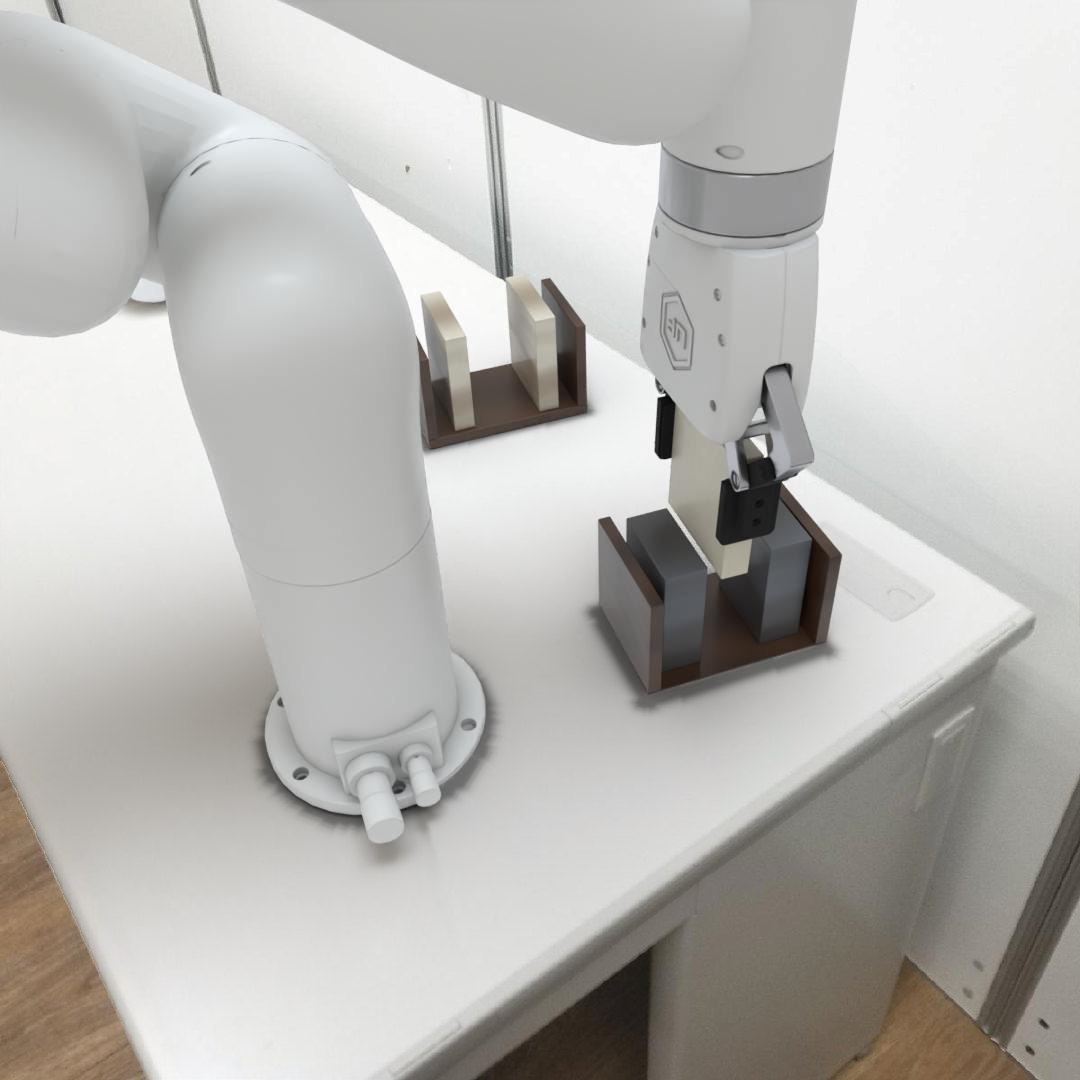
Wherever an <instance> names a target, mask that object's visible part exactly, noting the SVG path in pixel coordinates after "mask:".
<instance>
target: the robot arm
mask: <svg viewBox="0 0 1080 1080" xmlns="http://www.w3.org/2000/svg"><path fill="white" fill-rule="evenodd" d="M277 1H278V2H281V3H283V4H285V5H288V6H289V7H292V8H294V9H296V10H298V11H301V12H303V13H306V14H308V15H310V16H312V17H314V18H316V19H318V20H320V21H323V22H324V23H327V24H329V25H330V26H333V27H335V28H337V29H339V30H340V31H342V32H344V33H346V34H348V35H350V36H352V37H354V38H356V39H358V40H360V41H362V42H364V43H366V44H367V45H370V46H372V47H374V48H376V49H377V50H380V51H382V52H385V53H386V54H388V55H390V56H392V57H394V58H396V59H398V60H400V61H403V62H404V63H406V64H409V65H410V66H413V67H415V68H417V69H419V70H421V71H423V72H425V73H428V74H429V75H432V76H434V77H436V78H439V79H441V80H442V81H445V82H447V83H449V84H451V85H453V86H456V87H458V88H461V89H463V90H465V91H468V92H470V93H472V94H474V95H477V96H480V97H482V98H484V99H487V100H489V101H492V102H494V103H497V104H500V105H502V106H505V107H508V108H510V109H512V110H515V111H517V112H520V113H522V114H525V115H527V116H529V117H533V118H535V119H538V120H540V121H542V122H545V123H547V124H550V125H552V126H555V127H558V128H561V129H563V130H564V131H565V130H566V131H568V132H571V133H573V134H575V135H579V136H581V137H584V138H588V139H591V140H593V141H596V142H599V143H604V144H609V145H613V146H614V145H616V146H617V145H618V146H630V147H631V146H632V147H638V146H639V147H640V146H647V145H655V144H660V156H659V158H660V159H659V175H658V176H659V177H658V195H657V204H656V208H655V213H654V216H653V217H654V218H653V222H652V227H651V232H650V237H649V238H650V239H649V244H648V246H649V247H648V253H647V259H646V269H645V278H644V286H643V287H644V288H643V299H642V310H641V322H640V323H641V324H640V339H639V340H640V341H639V347H640V352H641V356H642V359H643V361H644V363H645V364H646V366H647V368H648V369H649V371H650V372H651V374H652V375H653V376H654V384H655V389H656V391H657V393H658V394H659V395H662V396H658V397H656V413H655V430H654V431H655V433H654V447H653V448H654V451H653V452H654V453H655V455H656V457H657V458H658V459H659V460H664V461H665V460H669V459H670V460H671V458H672V445H673V432H674V419H675V406H676V405H677V406H678V407H679V408H680V410H681V411H682V412H683V413H684V415H685V416H686V417H687V418H688V419H689V421H690V422H691V423H692V424H693V425H694V427H695V428H696V429H697V430H698V431H699V432H700V433H701V434H702V435H703V436H704V437H705V438H707V439H708V440H709V441H711V442H713V443H715V444H718V445H722V444H725V449H726V456H727V463H728V470H729V477H730V478H728V479H725V480H722V481H721V489H720V498H719V507H718V517H717V526H716V535H715V536H716V539H717V540H718V541H719V543H720V544H721V545H729V544H733V543H737V542H741V541H745V540H749V539H753V538H757V537H761V536H765V535H769V534H770V533H772V532H773V531H774V529H775V524H776V517H777V511H778V504H779V498H780V491H781V485H782V483H783V482H786V481H789V480H790V479H792V478H794V477H797V476H798V475H799V473H800V472H802V471H804V470H805V469H807V468H809V467H810V466H811V465H813V463H814V462H815V452H814V448H813V445H812V442H811V438H810V436H809V432H808V429H807V426H806V423H805V421H804V418H803V415H802V414H803V412H804V409H805V404H806V401H807V396H808V391H809V385H810V380H811V373H812V365H813V358H814V349H815V348H814V347H815V338H816V326H817V316H818V300H819V299H818V296H819V273H820V272H819V267H820V266H819V265H820V264H819V263H820V261H819V251H820V250H819V243H820V242H819V239H820V238H819V236H818V234H817V232H818V231H819V230H820V229H821V227H822V225H823V223H824V218H825V213H826V207H827V200H828V194H829V189H830V187H829V186H830V180H831V173H832V169H833V168H832V167H833V160H834V155H835V147H836V141H837V134H838V129H839V121H840V115H841V110H842V109H841V108H842V104H843V103H842V102H843V96H844V89H845V82H846V76H847V69H848V62H849V57H850V50H851V43H852V38H853V37H852V36H853V31H854V24H855V18H856V10H857V4H858V0H277ZM379 238H380V237H379V236H378V235H377V233H376V231H375V229H374V227H373V225H372V224H371V222H370V221H369V219H368V218H367V217H366V215H365V212H364V211H363V210H362V207H361V205H360V203H359V202H358V200H357V198H356V196H355V194H354V192H353V190H352V189H351V187H350V185H349V183H348V182H347V180H346V179H345V177H344V175H343V174H342V173H341V172H340V170H339V169H338V167H336V165H335V164H334V163H333V162H332V160H331V159H330V158H329V157H328V156H327V155H325V153H323V151H322V150H320V148H318V147H317V146H316V145H314V144H313V143H311V142H310V141H309V140H308V139H306V138H305V137H303V136H301V135H300V134H298V133H297V132H294V131H292V129H290V128H288V127H286V126H284V125H282V124H280V123H278V122H276V121H275V120H272V119H270V118H268V117H267V116H265V115H263V114H260V113H258V112H256V111H254V110H252V109H250V108H247V107H245V106H243V105H241V104H239V103H237V102H235V101H233V100H231V99H228V98H226V97H224V96H222V95H221V94H218V93H216V92H213V91H211V90H210V89H207V88H205V87H204V86H201V85H199V84H197V83H195V82H192V81H191V80H189V79H186V78H184V77H182V76H180V75H178V74H176V73H174V72H171V71H170V70H167V69H165V68H163V67H161V66H159V65H156V64H154V63H152V62H150V61H149V60H146V59H144V58H142V57H140V56H137V55H136V54H134V53H131V52H129V51H127V50H125V49H124V48H121V47H119V46H116V45H114V44H112V43H110V42H108V41H106V40H103V39H102V38H99V37H97V36H96V35H93V34H91V33H90V32H89V33H88V32H86V31H84V30H81V29H80V28H77V27H74V26H71V25H69V24H65V23H63V22H60V21H58V20H55V19H50V18H47V17H43V16H40V15H36V14H31V13H25V12H19V11H13V10H0V331H1V332H5V333H8V334H13V335H19V336H23V337H26V336H27V337H38V338H53V339H54V338H60V337H61V338H62V337H67V336H72V335H78V334H82V333H86V332H88V331H90V330H92V329H94V328H96V327H99V326H101V325H103V324H104V323H106V322H108V321H109V320H110V319H112V318H113V317H114V316H115V315H116V314H118V313H119V312H121V310H122V309H123V307H125V306H126V304H127V303H128V301H129V300H130V299H131V298H130V297H131V296H132V294H133V292H134V290H135V288H136V286H137V284H138V282H139V280H140V278H143V279H146V280H149V281H151V282H154V283H157V284H160V285H162V286H163V289H164V295H165V304H166V305H165V306H166V310H167V316H168V322H169V329H170V335H171V339H172V344H173V350H174V354H175V359H176V363H177V368H178V372H179V374H180V376H179V377H180V380H181V383H182V387H183V390H184V395H185V398H186V400H187V404H188V406H189V409H190V413H191V415H192V419H193V421H194V424H195V427H196V430H197V432H198V435H199V437H200V440H201V443H202V446H203V448H204V451H205V453H206V457H207V460H208V463H209V465H210V468H211V471H212V474H213V477H214V480H215V483H216V487H217V490H218V493H219V496H220V499H221V503H222V506H223V511H224V514H225V517H226V520H227V524H228V526H229V529H230V533H231V536H232V537H231V538H232V540H233V544H234V546H235V549H236V551H237V554H238V557H239V560H240V563H241V567H242V570H243V574H244V577H245V580H246V585H247V587H248V591H249V594H250V597H251V600H252V604H253V607H254V608H253V609H254V610H255V614H256V617H257V621H258V624H259V626H260V632H261V634H262V637H263V641H264V644H265V647H266V651H267V655H268V657H269V662H270V664H271V665H270V666H271V668H272V671H273V674H274V678H275V682H276V684H277V688H278V690H277V691H276V694H275V695H274V697H273V698H272V700H271V703H270V705H269V709H268V711H267V715H266V718H265V722H264V723H265V725H264V742H265V746H266V747H265V748H266V752H267V755H268V758H269V761H270V763H271V766H272V768H273V771H274V772H275V774H276V775H277V777H278V779H279V780H280V781H281V784H283V785H284V786H285V787H286V788H287V789H288V790H289V791H290V792H291V793H293V794H294V795H295V796H296V797H297V798H299V799H301V800H302V801H304V802H306V803H308V804H309V805H311V806H313V807H317V808H319V809H322V810H326V811H328V812H330V813H337V814H344V815H351V816H362V820H363V824H364V827H365V831H366V835H367V839H368V840H369V841H370V842H372V843H373V844H386V843H391V842H392V841H395V840H396V839H398V838H400V837H401V835H402V834H403V833H404V832H405V828H406V825H405V821H404V818H403V814H402V811H401V810H403V809H405V808H408V807H411V806H414V805H417V806H419V807H421V808H426V807H431V806H433V805H435V804H437V803H438V802H439V801H441V798H442V792H441V791H442V790H441V788H440V787H441V786H442V785H444V784H445V783H446V782H447V781H449V780H450V779H451V778H452V777H454V776H455V775H456V774H457V773H458V772H459V771H460V770H461V769H462V768H463V767H464V766H465V764H466V763H467V762H468V761H469V759H470V758H471V756H472V755H473V754H474V752H475V750H476V749H477V747H478V745H479V743H480V740H481V738H482V736H483V732H484V728H485V724H486V716H487V708H486V707H487V706H486V697H485V693H484V691H483V690H484V689H483V686H482V682H481V681H480V680H479V677H478V676H477V674H476V672H475V670H474V669H473V668H472V667H471V666H470V665H469V664H468V662H467V661H466V660H465V659H464V658H463V657H461V655H459V654H458V653H456V652H455V651H453V650H452V648H451V641H450V635H449V627H448V621H447V614H446V608H445V607H446V606H445V599H444V591H443V585H442V578H441V571H440V570H441V569H440V564H439V556H438V555H439V554H438V550H437V549H438V548H437V543H436V535H435V528H434V521H433V514H432V508H431V507H432V506H431V503H430V496H429V489H428V482H427V481H428V480H427V473H426V468H425V457H424V451H423V449H424V448H423V437H422V431H421V425H420V364H419V352H418V345H417V338H418V337H417V338H416V336H417V334H416V329H415V324H414V320H413V316H412V312H411V309H410V306H409V302H408V300H407V296H406V294H405V292H404V289H403V286H402V284H401V282H400V279H399V277H398V275H397V272H396V270H395V268H394V266H393V263H392V261H391V260H390V258H389V255H388V253H387V251H386V250H385V248H384V246H383V244H382V243H381V240H380V239H379ZM758 409H762V412H763V415H764V418H762V419H761V418H760V419H758V420H757V419H756V420H753V418H754V417H755V415H756V413H757V412H758ZM752 420H753V421H752ZM760 436H764V439H765V446H766V454H767V456H764V458H761V459H758V460H756V461H753V462H751V463H749V464H748V463H747V456H746V449H745V441H744V439H747V438H750V439H752V438H755V437H760ZM471 724H472V725H474V726H475V727H474V728H472V729H470V730H465V729H463V727H464V726H466V725H471Z"/></svg>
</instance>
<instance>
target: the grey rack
mask: <svg viewBox="0 0 1080 1080" xmlns="http://www.w3.org/2000/svg"><path fill="white" fill-rule="evenodd" d="M625 521H626V523H625V526H626V527H625V538H626V539H625V538H624V536H623V535H622V533H621V531H620V530H619V528H618V527H617V526H616V523H615V522H614V521H613V519H612V517H611V515H609V516H605V517H601V518H598V519H597V541H598V542H597V546H598V547H597V548H598V549H597V551H598V552H597V556H598V561H597V563H598V606H599V607H600V609H601V611H602V613H603V614H604V617H605V618H606V621H607V622H608V624H609V626H610V627H611V629H612V631H613V633H614V635H615V636H616V638H617V640H618V642H619V644H620V645H621V647H622V649H623V651H624V653H625V654H626V656H627V658H628V660H629V662H630V664H631V665H632V667H633V669H634V671H635V672H636V675H637V677H638V678H639V680H640V682H641V683H642V685H643V687H644V689H645V691H646V693H647V694H648V695H652V694H655V693H659V692H662V691H666V690H669V689H673V688H676V687H678V686H682V685H685V684H686V685H687V684H690V683H693V682H697V681H699V680H703V679H706V678H710V677H713V676H717V675H720V674H723V673H726V672H727V673H728V672H730V671H733V670H737V669H741V668H744V667H746V666H750V665H753V664H757V663H760V662H763V661H767V660H770V659H774V658H776V657H781V656H784V655H787V654H791V653H794V652H797V651H800V650H803V649H808V648H811V647H814V646H817V645H821V644H825V643H827V641H828V635H829V630H830V625H831V619H832V614H833V610H834V609H833V608H834V603H835V597H836V592H837V587H838V586H837V585H838V580H839V575H840V570H841V564H842V560H843V559H842V558H843V554H842V553H841V551H840V550H839V549H838V547H837V546H836V545H835V544H834V543H833V542H832V540H831V539H830V538H829V537H828V536H827V534H826V533H825V532H824V531H823V530H822V529H821V527H820V526H819V525H818V524H817V523H816V521H815V520H814V519H813V518H812V516H811V515H810V514H809V513H808V512H807V510H806V509H805V508H804V507H803V505H802V504H801V503H800V502H799V501H798V500H797V498H796V497H795V496H794V495H793V494H792V492H791V491H790V490H789V489H788V488H787V487H786V485H785V484H784V483H783V482H782V485H781V491H780V498H779V504H778V511H777V517H776V524H775V529H774V531H773V532H772V533H770V534H769V535H765V536H761V537H757V538H753V539H752V544H751V551H750V558H749V565H748V572H747V573H745V574H741V575H737V576H733V577H729V578H725V579H721V578H720V576H719V575H718V574H717V572H716V571H715V572H711V573H708V572H709V571H708V570H709V568H708V565H707V564H706V563H705V562H704V559H703V558H702V557H701V555H700V554H699V552H698V551H697V550H696V548H695V547H694V545H693V544H692V542H691V541H690V540H689V538H688V537H687V535H686V534H685V532H684V531H683V529H682V528H681V525H680V524H678V522H677V521H676V519H675V517H674V516H673V515H672V513H671V512H670V510H669V509H668V508H667V507H664V508H661V509H657V510H653V511H649V512H645V513H642V514H638V515H634V516H630V517H627V518H626V519H625Z"/></svg>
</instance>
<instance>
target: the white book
mask: <svg viewBox="0 0 1080 1080" xmlns="http://www.w3.org/2000/svg"><path fill="white" fill-rule="evenodd" d="M744 441H745V449H746V456H747V463H748V464H749V463H751V462H753V461H756V460H758V459H761V458H765V455H764V454H763V452H762V451H761V450H760V448H759V447H758V446H757V445H756V444H755V443H754V442H753V441H752V438H747V439H744ZM728 478H730V477H729V470H728V463H727V456H726V449H725V444H722V445H718V444H715V443H713V442H711V441H709V440H708V439H707V438H705V437H704V436H703V435H702V434H701V433H700V432H699V431H698V430H697V429H696V428H695V427H694V425H693V424H692V423H691V422H690V421H689V419H688V418H687V417H686V416H685V415H684V413H683V412H682V411H681V410H680V408H679V407H678V406H677V405H676V406H675V419H674V432H673V445H672V458H670V472H669V486H668V498H667V503H668V504H669V506H670V507H671V509H672V510H673V512H674V513H675V515H676V516H677V517H678V519H679V520H680V522H681V524H682V525H683V526H684V528H685V529H686V530H687V532H688V534H689V535H690V536H691V537H692V539H693V541H694V542H695V544H696V545H697V546H698V548H699V549H700V551H701V552H702V553H703V555H704V556H705V558H706V559H707V561H708V562H709V564H710V565H711V567H712V568H713V569H714V571H715V572H717V574H718V575H719V576H720V578H721V579H725V578H729V577H733V576H737V575H741V574H745V573H747V572H748V565H749V558H750V551H751V544H752V539H749V540H745V541H741V542H737V543H733V544H729V545H721V544H720V543H719V541H718V540H717V539H716V536H715V535H716V526H717V517H718V507H719V498H720V489H721V481H722V480H725V479H728Z"/></svg>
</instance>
